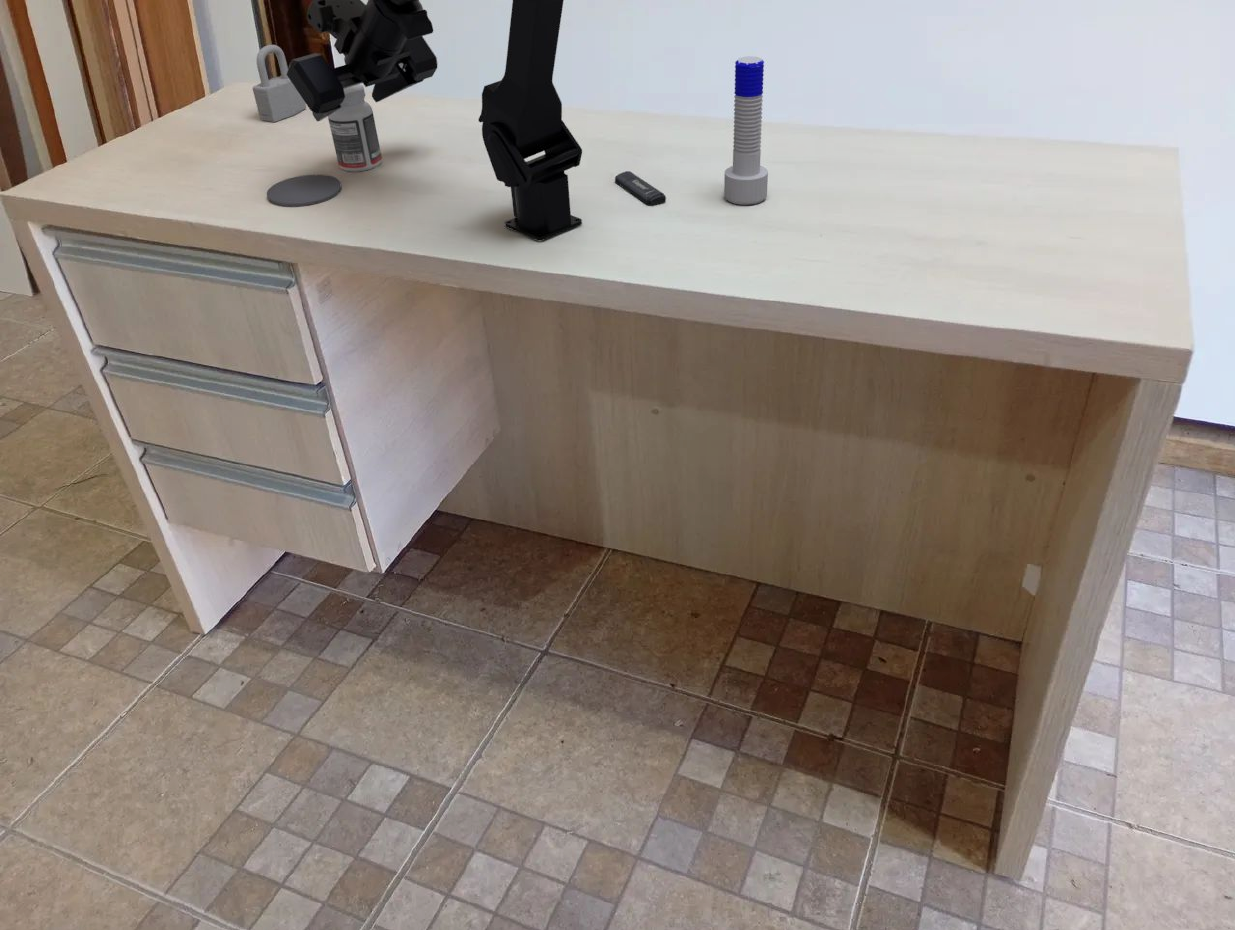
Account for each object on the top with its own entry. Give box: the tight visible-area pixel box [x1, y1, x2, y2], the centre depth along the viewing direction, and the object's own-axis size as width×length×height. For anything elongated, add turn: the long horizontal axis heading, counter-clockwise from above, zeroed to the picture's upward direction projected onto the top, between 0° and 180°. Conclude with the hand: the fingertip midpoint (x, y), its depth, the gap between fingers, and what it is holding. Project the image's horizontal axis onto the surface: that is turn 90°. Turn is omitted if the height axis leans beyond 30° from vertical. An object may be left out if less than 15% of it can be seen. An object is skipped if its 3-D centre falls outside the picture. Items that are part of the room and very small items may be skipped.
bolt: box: [723, 56, 769, 206], centre depth 116 cm, size 16×5×5 cm
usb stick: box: [614, 170, 667, 207], centre depth 123 cm, size 10×3×2 cm, turn 26°
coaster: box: [266, 174, 342, 208], centre depth 128 cm, size 9×9×1 cm
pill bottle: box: [327, 83, 383, 173], centre depth 132 cm, size 6×6×10 cm
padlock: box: [252, 44, 307, 123], centre depth 151 cm, size 7×4×10 cm, turn 152°
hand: (346, 108), depth 131 cm, fingers open, 9 cm apart
